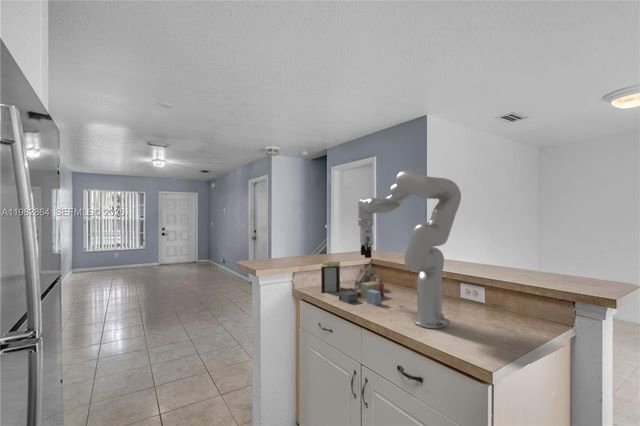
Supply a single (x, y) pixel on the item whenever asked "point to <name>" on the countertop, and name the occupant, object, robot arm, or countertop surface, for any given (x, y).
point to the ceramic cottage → (366, 277)
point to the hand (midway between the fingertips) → (365, 256)
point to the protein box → (330, 277)
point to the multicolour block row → (361, 299)
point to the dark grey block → (349, 297)
